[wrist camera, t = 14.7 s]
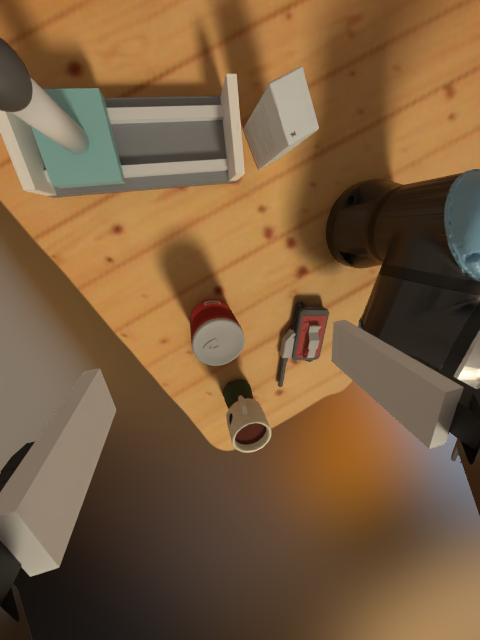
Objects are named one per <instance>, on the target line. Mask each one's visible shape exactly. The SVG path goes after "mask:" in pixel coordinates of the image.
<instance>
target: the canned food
mask: <svg viewBox="0 0 480 640" xmlns="http://www.w3.org/2000/svg"><path fill="white" fill-rule="evenodd" d="M190 328H191V343H192V348H193V352H194V354H195V356H196V357H197V358H198V359H199V360H200V361H201V362H203V363H205V364H208V365H213V366H218V365H223V364H227V363H229V362H231V361H232V360H234V359H235V358H236V357H237V356H238V355H239V354H240V353H241V351H242V349H243V346H244V341H245V338H244V333H243V331H242V328H241V326H240V325H239V323H238V321H237V320H236V318H235V316H234V315H233V313H232V311H231V310H230V308H229V307H228V306H227V305H226V304H225V303H223V302H222V301H219V300H207V301H204V302H202V303H200V304H199V305H197V306H196V307H195V308H194V310H193V311H192V314H191V317H190Z"/></svg>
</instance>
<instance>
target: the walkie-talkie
mask: <svg viewBox="0 0 480 640" xmlns="http://www.w3.org/2000/svg"><path fill="white" fill-rule="evenodd" d="M300 304H302V306H299V305H300ZM328 316H329V311H328V310H327V309H325V308H324V307H322V306H305V305H304V303H303V302H298V303H297V305H296V309H295V315H294V321H293V325H292V326H291V329H289V330H288V332H287V333H286V334H285V335H284V336H283V337H282V342H281V349H280V351H279V355H280V356H281V357H282V359H281V361H282V363H281V369H280V377H279V383H278V386H279V387H282V386H283V380H284V374H285V368H286V362H287V360H288V358H291V359H293V360H295V361H299V360H305V361H308V362H311V361H313V360H315V359H318V358H319V357H320V352H321V348H322V343H323V338H324V333H325V330H326V329H325V328H326V324H327V319H328Z"/></svg>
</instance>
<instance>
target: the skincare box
mask: <svg viewBox="0 0 480 640" xmlns="http://www.w3.org/2000/svg"><path fill="white" fill-rule="evenodd" d="M318 129H319V125H318V122H317V118H316V114H315V110H314V107H313V103H312V100H311V96H310V93H309V89H308V85H307V82H306V78H305V74H304V70H303V67H302V66H301V67H299V68H297V69H295V70H293V71H291V72H289V73H287V74H285V75H283V76H281V77H279V78H277V79H276V80H274V81H272V82H270V83H269V84H268V86H267V88H266V90H265V92H264V93H263V95H262V97H261V99H260V100H259V102H258V104H257V105H256V107H255V109H254V110H253V112H252V114H251V115H250V117H249V119H248V121H247V122H246V124H245V126H244V127H243V131H244V133H245V136H246V138H247V141H248V144H249V146H250V149H251V152H252V154H253V157H254V159H255V162H256V165H257V167H258V170H260V169H261V168H263V167H265V166H267V165H269V164H271V163H273V162H274V161H276V160H278V159H280V158H281V157H282V156H284V155H285V154H287V153H288V152H289V151H290V150H292V149H293V148H294V147H296V146H297V145H298V144H300V143H301V142H302V141H304V140H305V139H306V138H308V137H309V136H310V135H311V134H313V133H314V132H316V131H317V130H318Z"/></svg>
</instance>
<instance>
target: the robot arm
mask: <svg viewBox="0 0 480 640" xmlns="http://www.w3.org/2000/svg"><path fill="white" fill-rule="evenodd" d="M326 235H327V243H328V247H329V249H330V252H331V253H332V255H333V256H334V258H335V259H336V260H337V261H338V262H340V263H342V264H343V265H346V266H350V267H354V268H369V267H373V266H378V265H382V266H381V269H380V272H379V274H378V276H377V279H376V282H375V284H374V287H373V289H372V292H371V295H370V297H369V300H368V303H367V305H366V308H365V310H364V313H363V315H362V318H360V320H359V326H358V327H357V326H355V325H353V324H352V323H350V322H348V321H346V320H341V321H336V322H334V325H333V343H332V362H333V363H334V364H335V365H336V366H337V367H339V368H340V369H341V370H342V371H343V372H344V373H345V374H346V375H348V376H349V377H350V378H351V379H352V380H353V381H354V382H355V383H357V384H358V385H359V386H360V387H361V388H362V389H363V390H364V391H365V392H366V393H368V394H369V395H370V396H371V397H372V398H373V399H374V400H375V401H376V402H378V403H379V404H380V405H381V406H382V407H383V408H384V409H386V410H387V411H388V412H389V413H390V414H391V415H392V416H393V417H394V418H395V419H396V420H398V421H399V422H400V423H401V424H402V425H403V426H404V427H405V428H407V429H408V430H409V431H410V432H411V433H412V434H413V435H414V436H415V437H416V438H418V439H419V440H420V441H421V442H422V443H423V444H424V445H425V446H426V447H428V448H429V449H430V448H433V447H437V446H440V445H443V444H446V440H447V437H448V434H449V432H450V433H452V434H453V435H454V436H455V437H457V441H456V444H455V447H454V450H453V453H452V457H451V459H452V461H455V460H456V458H457V456H458V455H459V456H460V459H461V463H462V465H463V467H464V471H465V474H466V476H467V480H468V482H469V485H470V488H471V491H472V494H473V497H474V500H475V503H476V506H477V509H478V512H479V515H480V169H473V170H470V171H466V172H464V173H460V174H455V175H450V176H445V177H441V178H436V179H431V180H426V181H421V182H416V183H411V184H406V185H402V184H398V183H394V182H391V181H387V180H382V179H373V180H368V181H364V182H360V183H358V184H355V185H353V186H352V187H350V188H349V189H347V190H346V191H345V192H344V193H343V194H342V195H341V196H340V197H339V198H338V200H337V201H336V203H335V204H334V206H333V208H332V210H331V213H330V215H329V219H328V223H327V231H326ZM473 387H476V388H478V389H475V388H473ZM115 412H116V408H115V406H114V403H113V400H112V398H111V396H110V393H109V390H108V388H107V385H106V383H105V380H104V378H103V375H102V373H101V370H100V369H94V370H89V371H84V372H83V373H82V375H81V376H80V378H79V379H78V380H77V382H76V383H75V385H74V386H73V388H72V389H71V390H70V392H69V393H68V395H67V396H66V398H65V399H64V401H63V402H62V404H61V405H60V407H59V408H58V409H57V411H56V412H55V414H54V415H53V417H52V418H51V420H50V421H49V423H48V424H47V425H46V427H45V428H44V430H43V431H42V433H41V434H40V435H39V437H38V438H37V440H36V441H35V442H31V443H27V444H26V445H24V446H23V447H22V448H21V449H20V450H19V451H18V452H17V453H15V454H14V455H13V456H12V457H11V459H10V460H9V461H8V462H7V464H6V465H5V466H4V468H3V469H2V470H1V474H0V640H32V637H31V634H30V630H29V627H28V623H27V620H26V616H25V613H24V610H23V606H22V603H21V600H20V596H19V593H18V589H17V588H16V587H15V586H14V585H13V582H14V580H15V578H16V576H17V574H18V572H19V570H20V567H22V568H23V569H24V570H25V571H26V572H27V573H28V575H29V576H34V575H37V574H40V573H43V572H46V571H49V570H53V569H56V568H59V566H60V564H61V561H62V558H63V555H64V553H65V550H66V547H67V544H68V542H69V539H70V536H71V533H72V530H73V528H74V525H75V522H76V520H77V517H78V514H79V511H80V509H81V506H82V503H83V500H84V498H85V495H86V492H87V489H88V487H89V484H90V481H91V478H92V476H93V473H94V470H95V467H96V465H97V462H98V459H99V456H100V454H101V451H102V448H103V445H104V443H105V440H106V437H107V434H108V432H109V429H110V426H111V423H112V421H113V417H114V415H115Z"/></svg>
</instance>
